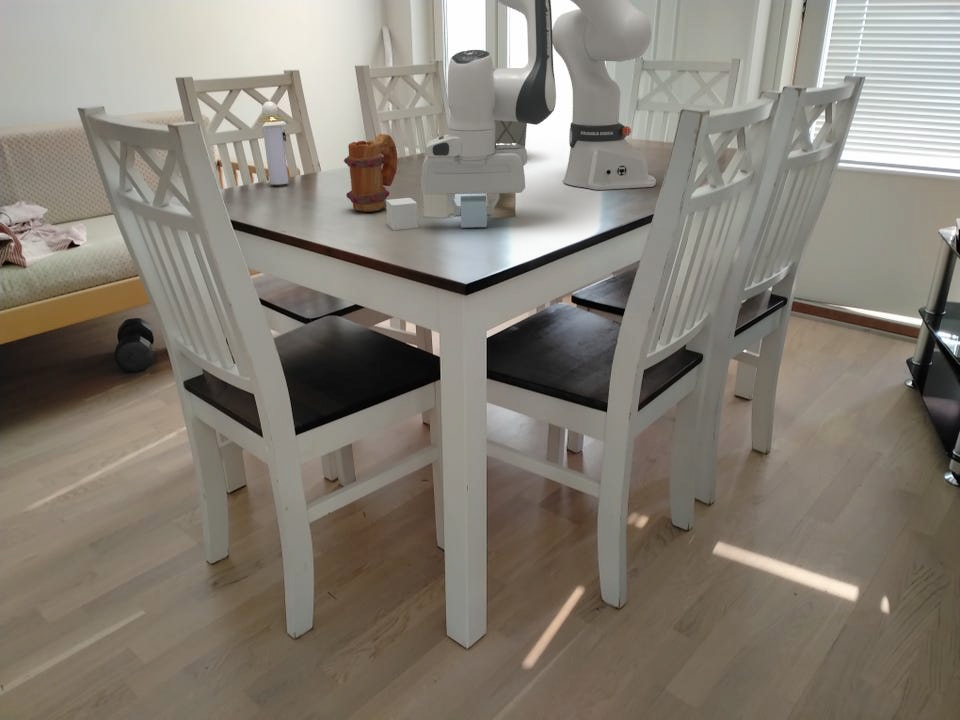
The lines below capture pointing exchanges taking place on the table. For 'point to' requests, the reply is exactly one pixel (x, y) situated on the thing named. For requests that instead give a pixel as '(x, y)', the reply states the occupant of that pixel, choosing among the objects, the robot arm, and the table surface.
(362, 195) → the mug
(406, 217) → the grey cube
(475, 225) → the pale blue cube
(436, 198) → the cream cube
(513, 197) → the birch cube
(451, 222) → the table surface
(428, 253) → the table surface
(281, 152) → the perfume bottle
